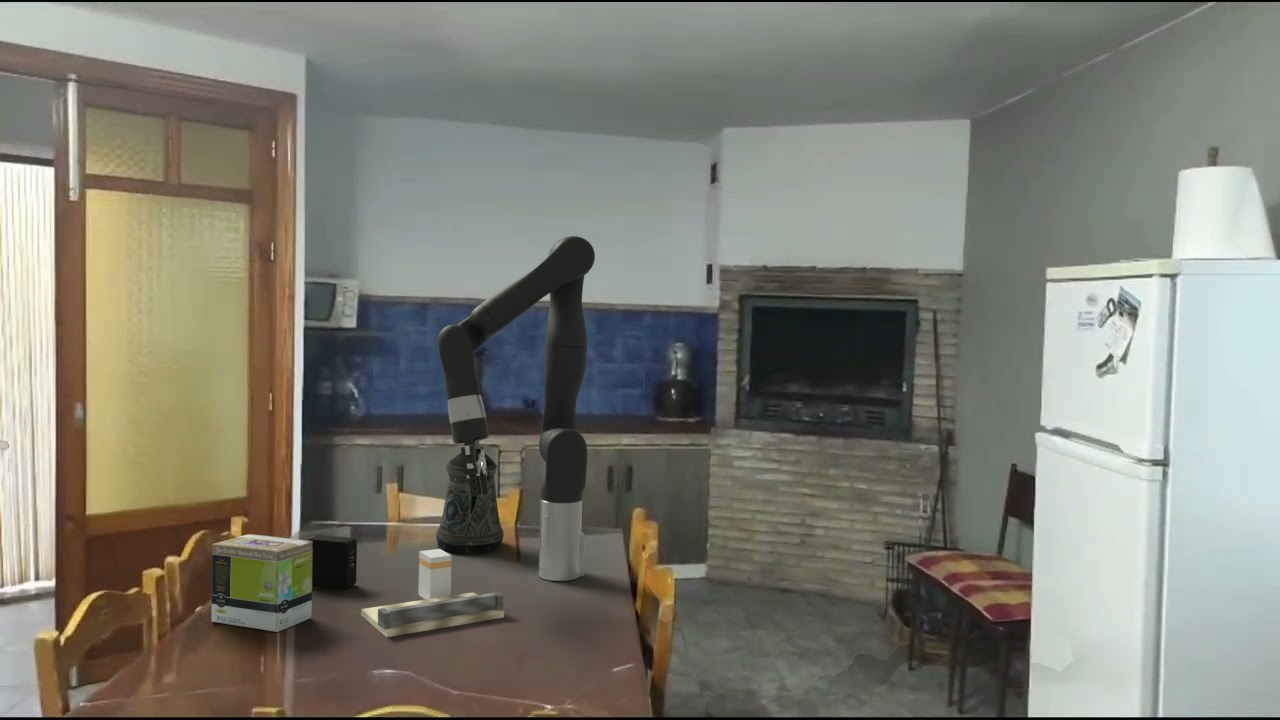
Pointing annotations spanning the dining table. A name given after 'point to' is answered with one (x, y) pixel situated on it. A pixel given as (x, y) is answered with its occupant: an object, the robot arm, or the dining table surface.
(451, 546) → the beer stein
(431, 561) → the module
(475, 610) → the mount board
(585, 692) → the dining table surface
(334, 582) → the electronic device
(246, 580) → the tea box
